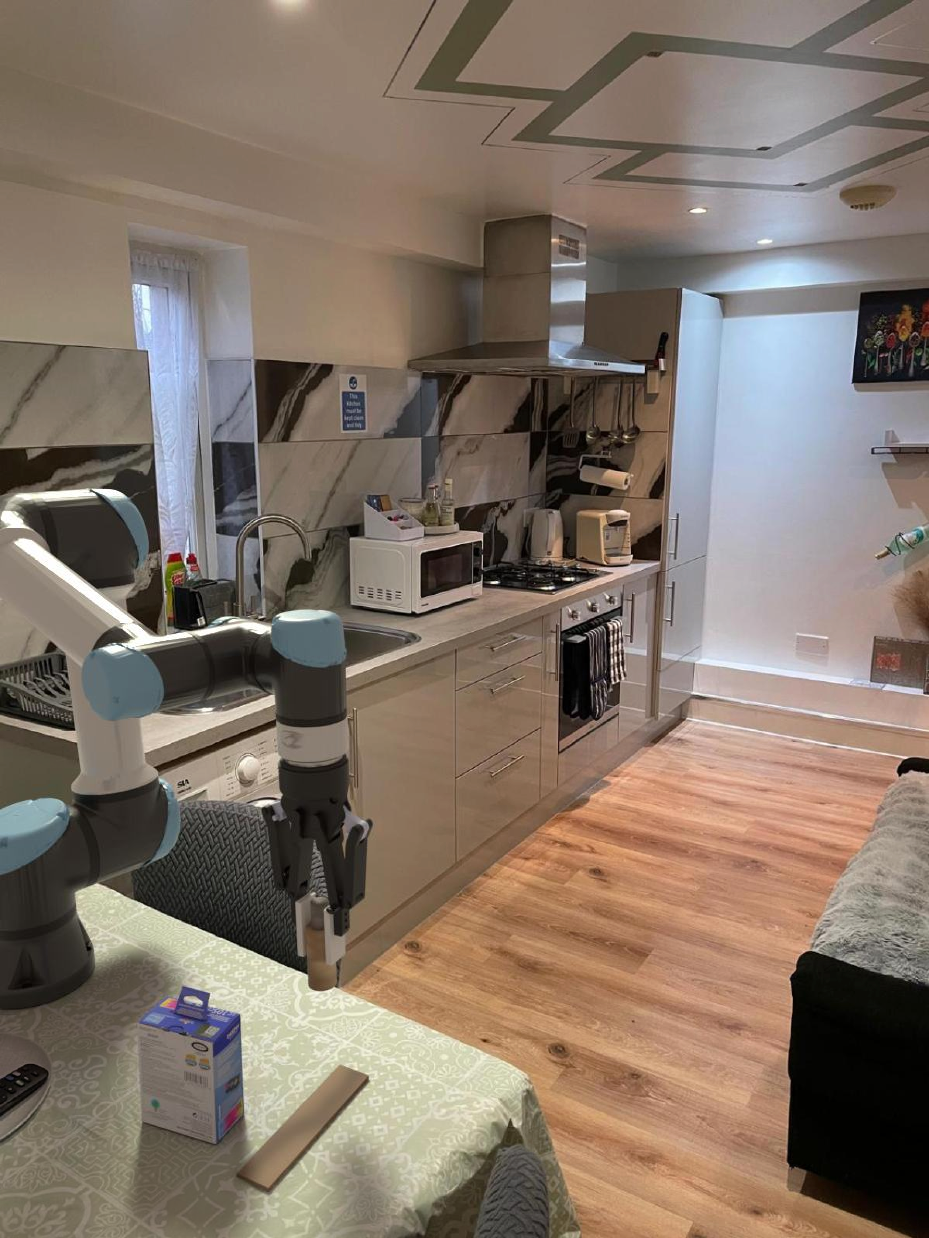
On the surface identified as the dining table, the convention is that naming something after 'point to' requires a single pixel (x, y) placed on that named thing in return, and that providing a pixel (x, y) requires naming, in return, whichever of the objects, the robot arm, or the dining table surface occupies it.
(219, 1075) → the ink cartridge box
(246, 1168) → the strip
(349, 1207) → the dining table surface
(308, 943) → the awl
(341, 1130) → the dining table surface
